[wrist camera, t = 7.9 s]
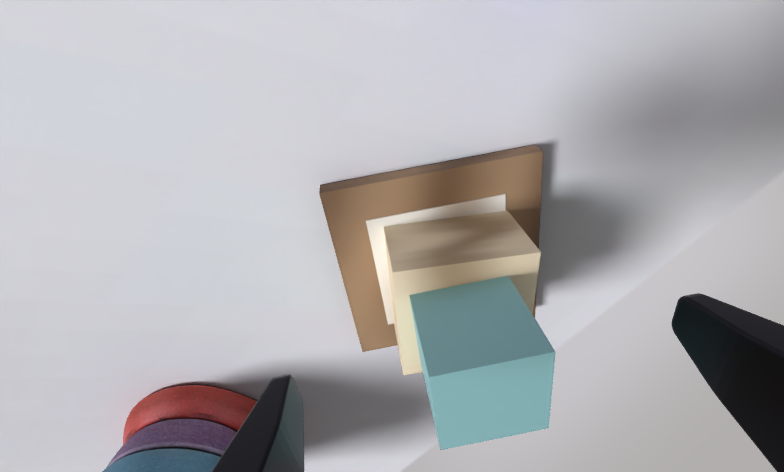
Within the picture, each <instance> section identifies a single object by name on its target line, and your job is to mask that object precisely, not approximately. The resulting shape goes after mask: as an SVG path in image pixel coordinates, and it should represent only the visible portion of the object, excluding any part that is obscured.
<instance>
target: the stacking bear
mask: <svg viewBox="0 0 784 472" xmlns="http://www.w3.org/2000/svg"><path fill="white" fill-rule="evenodd" d="M256 402H257V401H255V400H253V399H251V398H249V397H246V396H244V395H241V394H238V393H235V392H232V391H229V390H225V389H221V388H216V387H210V386H202V385H186V386H177V387H171V388H167V389H163V390H160V391H158V392H155V393H153V394H151V395H149V396H147V397H146V398H144V399H143V400H141V401H140V402H139V403H138V404H137V405H136V406H135V407H134V408H133V409H132V410H131V412H130V414H129V416H128V418H127V421H126V424H125V428H124V436H123V446H122V448H121V449H120V450H119V451H118V452H117V454H116V455H115V456H114V458H113V459H112V460H111V462H110V463H109V465H108V466H107V468H106V469H105V470H104V471H103V472H211V471H212V470H213V468H214V467H215V465H216V464H217V462H218V461H219V459H220V458H221V456H222V455H223V453H224V451H225V450H226V448H227V447H228V445H229V444H230V442H231V441H232V439H233V438H234V436H235V435H236V433H237V432H238V430H239V428H240V427H241V425H242V424H243V422H244V421H245V419H246V418H247V416H248V415H249V413H250V412H251V410H252V409H253V407H254V406H255V404H256Z"/></svg>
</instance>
